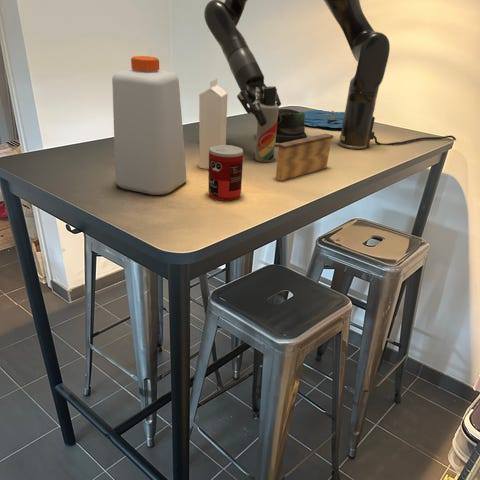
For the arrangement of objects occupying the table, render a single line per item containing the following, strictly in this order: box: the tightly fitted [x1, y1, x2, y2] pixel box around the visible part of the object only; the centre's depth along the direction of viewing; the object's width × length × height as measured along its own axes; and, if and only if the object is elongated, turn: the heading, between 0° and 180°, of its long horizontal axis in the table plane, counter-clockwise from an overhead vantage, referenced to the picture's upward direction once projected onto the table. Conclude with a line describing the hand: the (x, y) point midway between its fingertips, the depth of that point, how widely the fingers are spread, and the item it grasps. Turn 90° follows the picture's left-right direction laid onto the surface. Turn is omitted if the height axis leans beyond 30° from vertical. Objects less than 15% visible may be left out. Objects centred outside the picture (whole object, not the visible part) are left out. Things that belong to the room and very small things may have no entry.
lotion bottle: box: [254, 85, 280, 163], centre depth 132 cm, size 6×6×20 cm
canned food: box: [208, 144, 244, 202], centre depth 109 cm, size 8×8×11 cm
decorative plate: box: [300, 109, 345, 129], centre depth 183 cm, size 30×30×5 cm
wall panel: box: [275, 133, 334, 182], centre depth 127 cm, size 21×3×9 cm, turn 133°
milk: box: [198, 78, 228, 170], centre depth 124 cm, size 6×6×22 cm
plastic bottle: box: [111, 55, 188, 196], centre depth 108 cm, size 15×15×28 cm
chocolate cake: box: [275, 108, 309, 146], centre depth 157 cm, size 15×19×20 cm
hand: (271, 123), depth 131 cm, fingers closed on lotion bottle, 5 cm apart
